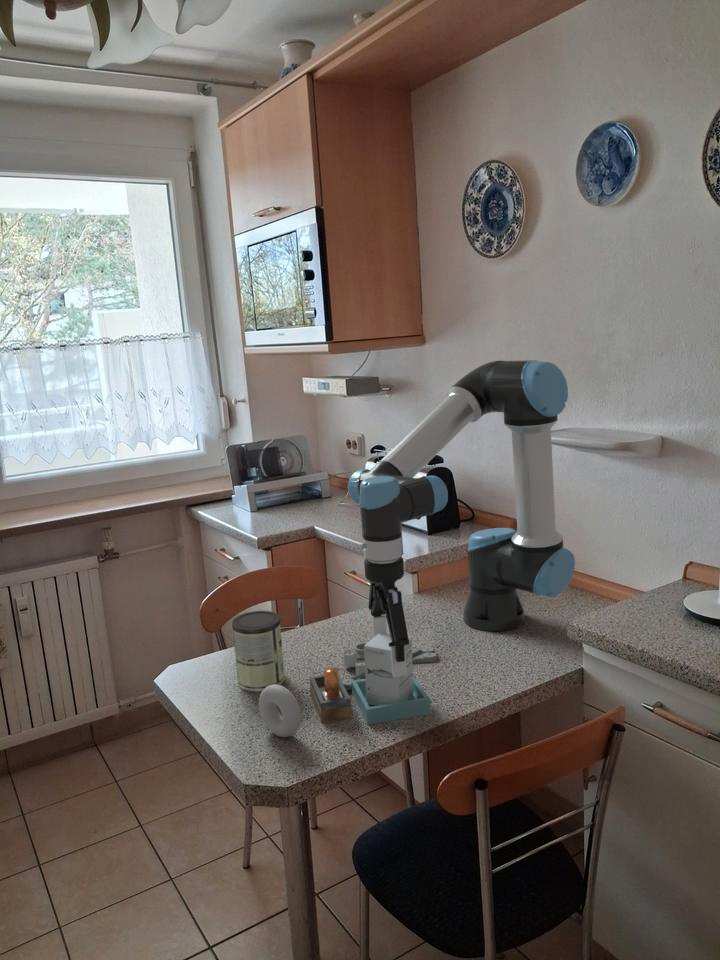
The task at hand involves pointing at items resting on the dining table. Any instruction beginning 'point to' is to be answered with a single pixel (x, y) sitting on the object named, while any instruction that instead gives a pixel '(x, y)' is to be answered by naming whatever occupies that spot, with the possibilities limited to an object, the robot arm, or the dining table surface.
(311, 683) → the base
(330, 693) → the copper rounded cylinder
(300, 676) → the dining table surface
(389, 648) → the supplement box
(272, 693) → the donut
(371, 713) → the tray
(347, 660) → the pulley system
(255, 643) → the coffee can
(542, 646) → the dining table surface
